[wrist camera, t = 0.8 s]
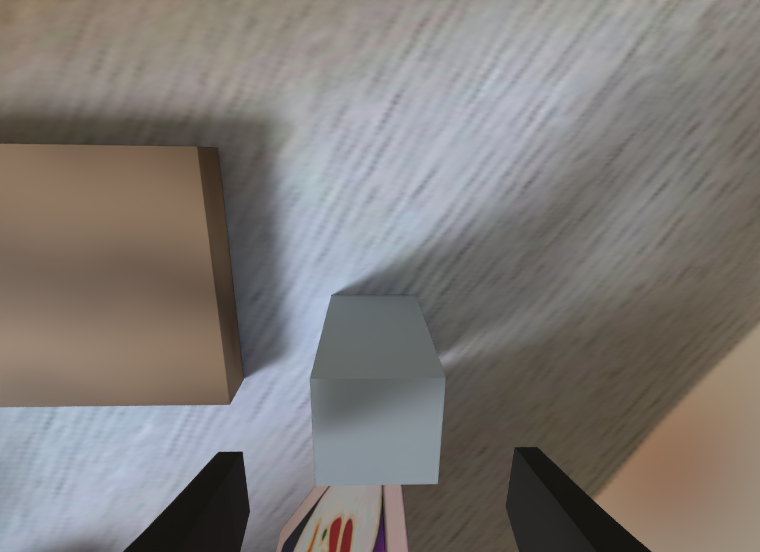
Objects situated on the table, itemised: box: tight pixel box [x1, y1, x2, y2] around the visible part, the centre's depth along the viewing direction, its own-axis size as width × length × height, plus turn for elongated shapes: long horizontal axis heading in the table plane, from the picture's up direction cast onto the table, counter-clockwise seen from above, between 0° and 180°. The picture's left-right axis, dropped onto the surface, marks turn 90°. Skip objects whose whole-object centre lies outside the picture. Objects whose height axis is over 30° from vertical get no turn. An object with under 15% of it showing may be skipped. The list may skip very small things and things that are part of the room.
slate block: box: [310, 295, 446, 486], centre depth 15 cm, size 4×4×7 cm
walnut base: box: [0, 144, 244, 407], centre depth 16 cm, size 11×11×2 cm
